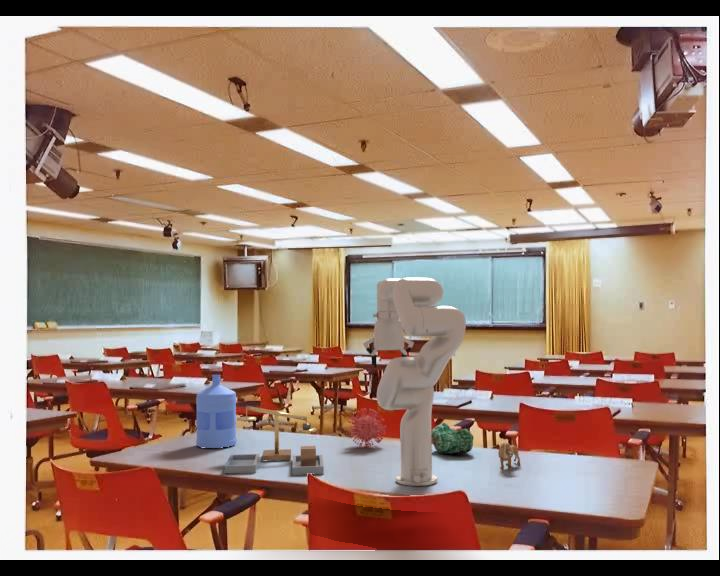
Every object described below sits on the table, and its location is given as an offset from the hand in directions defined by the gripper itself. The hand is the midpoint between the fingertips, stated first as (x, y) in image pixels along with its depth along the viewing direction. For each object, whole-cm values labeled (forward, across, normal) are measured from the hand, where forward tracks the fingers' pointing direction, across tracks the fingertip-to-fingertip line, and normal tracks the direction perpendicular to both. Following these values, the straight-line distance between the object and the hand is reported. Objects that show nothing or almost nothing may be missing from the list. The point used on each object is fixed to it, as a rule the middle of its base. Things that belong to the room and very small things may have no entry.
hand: (388, 367), depth 225 cm
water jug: (+33, -63, +46) cm, 85 cm away
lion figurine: (+34, +39, -8) cm, 52 cm away
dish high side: (+33, -50, +6) cm, 60 cm away
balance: (+33, -39, +18) cm, 54 cm away
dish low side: (+33, -28, 0) cm, 43 cm away
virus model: (+33, -4, +33) cm, 47 cm away
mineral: (+34, +25, +18) cm, 46 cm away
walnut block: (+32, -28, 0) cm, 42 cm away
